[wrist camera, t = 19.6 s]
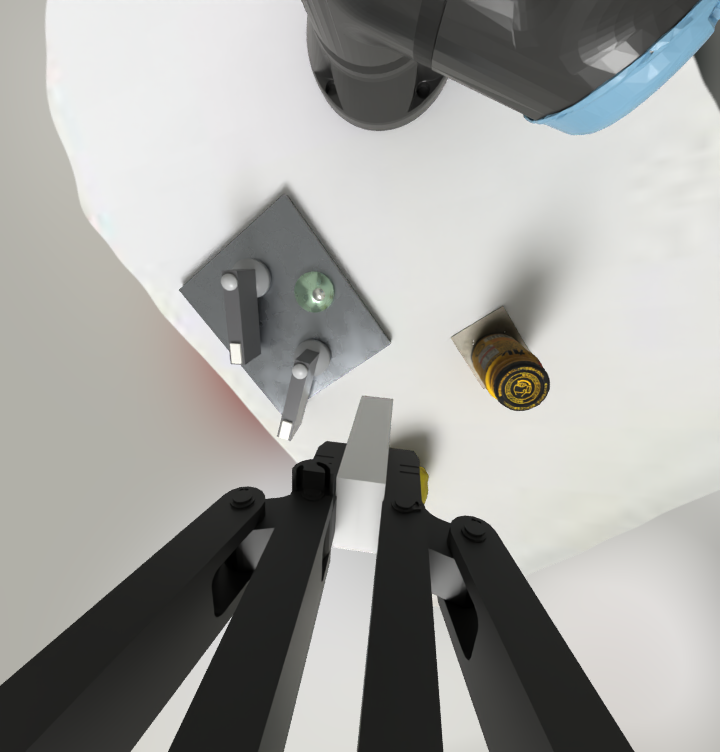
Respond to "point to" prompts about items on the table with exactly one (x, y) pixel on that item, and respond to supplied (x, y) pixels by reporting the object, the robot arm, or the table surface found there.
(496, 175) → the table surface
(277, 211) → the plate
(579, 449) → the table surface
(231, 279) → the grey lever handle
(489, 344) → the condiment
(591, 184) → the table surface
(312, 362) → the grey lever handle
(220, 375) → the table surface
